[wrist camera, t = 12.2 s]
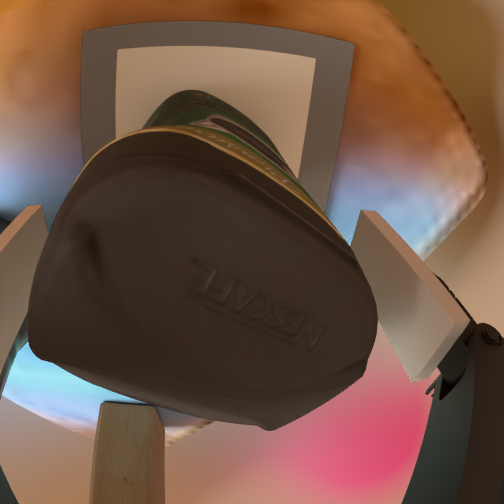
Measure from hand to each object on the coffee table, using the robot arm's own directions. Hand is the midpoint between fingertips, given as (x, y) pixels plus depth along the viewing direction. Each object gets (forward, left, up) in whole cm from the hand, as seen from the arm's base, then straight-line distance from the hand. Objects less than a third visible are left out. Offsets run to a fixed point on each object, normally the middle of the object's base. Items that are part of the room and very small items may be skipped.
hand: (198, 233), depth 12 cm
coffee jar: (0, 0, -12) cm, 12 cm away
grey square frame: (0, 0, -13) cm, 13 cm away
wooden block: (-13, -44, -14) cm, 48 cm away
